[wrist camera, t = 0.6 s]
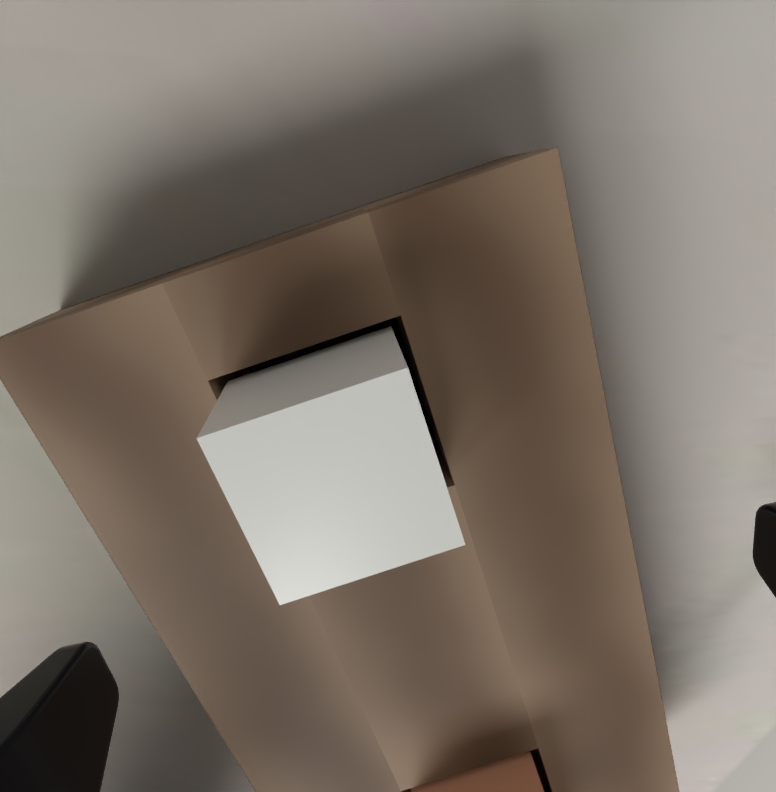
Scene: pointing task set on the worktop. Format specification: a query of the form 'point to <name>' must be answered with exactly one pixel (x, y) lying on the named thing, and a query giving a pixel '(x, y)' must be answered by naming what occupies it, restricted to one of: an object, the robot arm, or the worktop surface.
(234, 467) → the grey button
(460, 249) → the button panel
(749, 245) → the worktop surface
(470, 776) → the terracotta button
